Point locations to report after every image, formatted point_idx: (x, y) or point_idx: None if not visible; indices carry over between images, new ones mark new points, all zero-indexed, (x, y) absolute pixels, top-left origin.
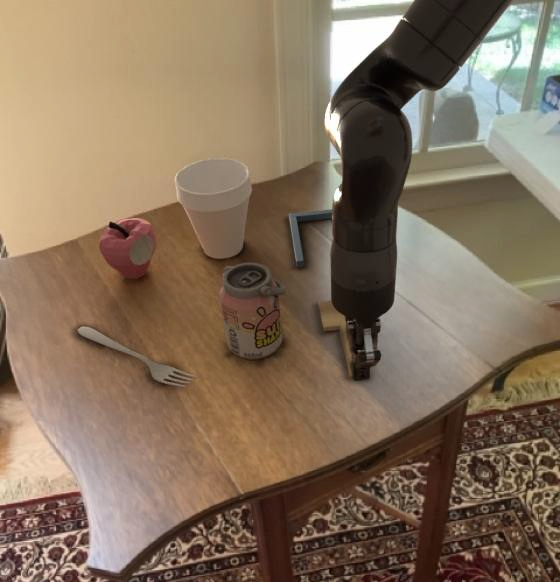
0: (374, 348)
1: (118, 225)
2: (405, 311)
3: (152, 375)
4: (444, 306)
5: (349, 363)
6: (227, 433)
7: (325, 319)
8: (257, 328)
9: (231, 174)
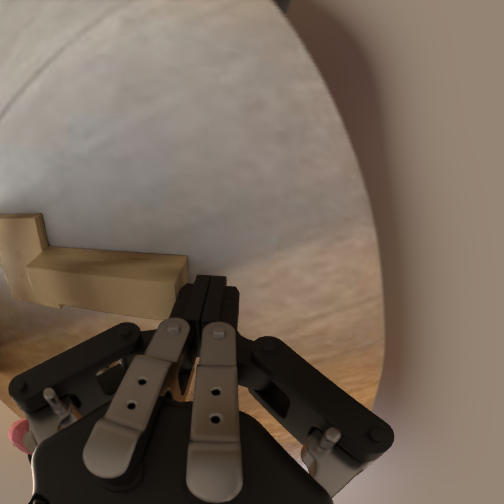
0: (329, 445)
1: (29, 459)
2: (10, 132)
3: None
4: (14, 51)
5: None
6: (281, 427)
7: (42, 300)
8: None
9: None
